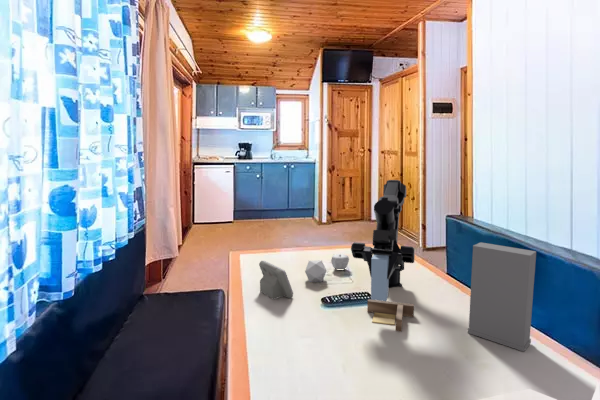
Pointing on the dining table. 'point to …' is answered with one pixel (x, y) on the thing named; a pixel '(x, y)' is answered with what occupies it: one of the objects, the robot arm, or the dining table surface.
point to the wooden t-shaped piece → (390, 312)
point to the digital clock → (274, 281)
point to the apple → (340, 261)
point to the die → (315, 271)
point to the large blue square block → (379, 277)
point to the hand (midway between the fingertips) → (379, 277)
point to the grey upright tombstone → (502, 294)
